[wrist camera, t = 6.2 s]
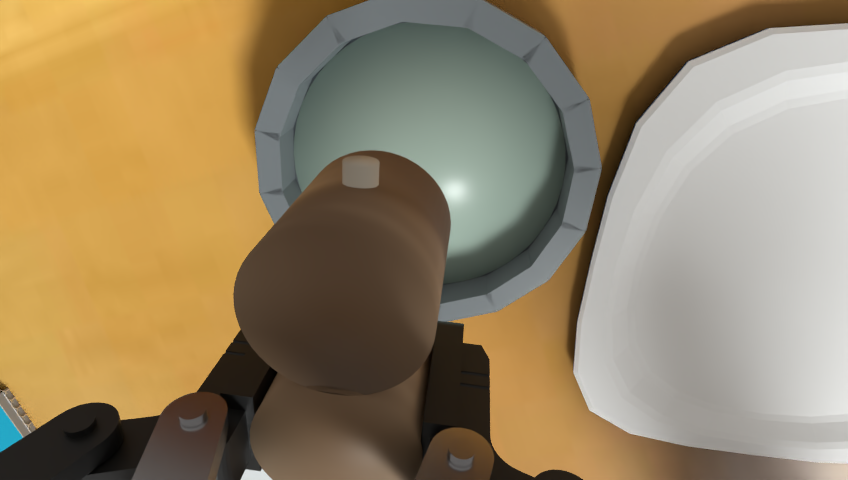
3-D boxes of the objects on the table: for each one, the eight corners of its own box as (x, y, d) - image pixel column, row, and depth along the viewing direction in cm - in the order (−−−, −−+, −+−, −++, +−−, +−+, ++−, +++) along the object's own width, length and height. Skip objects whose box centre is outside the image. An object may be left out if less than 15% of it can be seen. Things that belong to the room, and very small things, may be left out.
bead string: (460, 141, 11) (448, 215, 8) (423, 478, 16) (405, 615, 13) (302, 125, 11) (220, 188, 8) (314, 462, 17) (268, 592, 13)
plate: (643, 4, 23) (654, 6, 21) (1261, 46, 21) (1321, 51, 20) (547, 413, 35) (550, 432, 33) (942, 461, 33) (964, 485, 31)
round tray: (624, 8, 23) (641, 11, 20) (552, 309, 30) (558, 338, 28) (268, -24, 24) (242, -25, 21) (285, 275, 31) (267, 300, 29)
